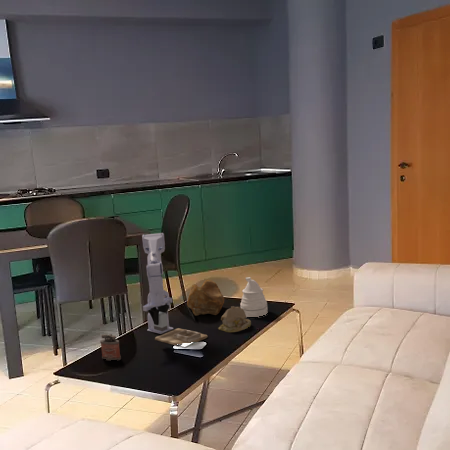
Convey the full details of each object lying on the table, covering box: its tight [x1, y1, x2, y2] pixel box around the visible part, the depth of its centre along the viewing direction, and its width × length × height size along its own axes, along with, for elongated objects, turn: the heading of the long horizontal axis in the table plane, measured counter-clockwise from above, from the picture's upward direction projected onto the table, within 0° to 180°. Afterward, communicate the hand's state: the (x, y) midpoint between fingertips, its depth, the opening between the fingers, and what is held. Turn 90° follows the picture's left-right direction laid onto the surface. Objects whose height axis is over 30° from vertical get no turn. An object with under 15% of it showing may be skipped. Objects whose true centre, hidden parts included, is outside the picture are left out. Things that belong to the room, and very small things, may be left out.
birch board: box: [154, 327, 208, 346], centre depth 239 cm, size 18×14×3 cm
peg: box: [154, 311, 167, 331], centre depth 232 cm, size 3×5×7 cm, turn 48°
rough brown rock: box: [186, 279, 225, 317], centre depth 273 cm, size 23×17×15 cm
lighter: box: [99, 334, 122, 361], centre depth 221 cm, size 8×3×10 cm, turn 71°
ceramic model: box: [217, 305, 252, 333], centre depth 248 cm, size 14×11×10 cm
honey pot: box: [239, 276, 269, 318], centre depth 266 cm, size 13×13×18 cm
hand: (159, 323), depth 232 cm, fingers closed on peg, 3 cm apart
